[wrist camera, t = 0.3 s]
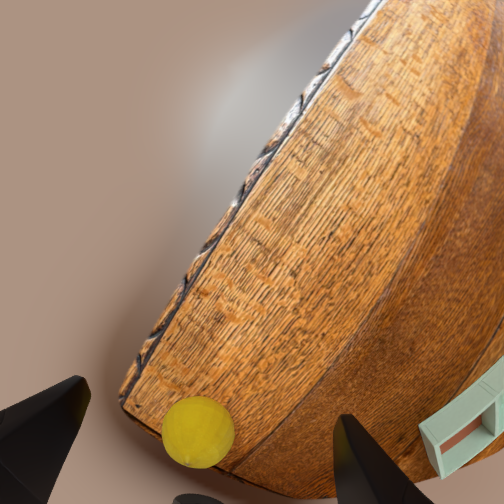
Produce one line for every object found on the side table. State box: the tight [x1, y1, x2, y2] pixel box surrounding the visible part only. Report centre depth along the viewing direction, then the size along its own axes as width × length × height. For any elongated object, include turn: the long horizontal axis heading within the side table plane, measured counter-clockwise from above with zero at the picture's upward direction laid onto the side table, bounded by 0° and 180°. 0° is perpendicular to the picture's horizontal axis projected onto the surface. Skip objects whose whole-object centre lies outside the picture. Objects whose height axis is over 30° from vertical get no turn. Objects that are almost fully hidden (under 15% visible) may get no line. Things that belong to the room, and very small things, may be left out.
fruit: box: [162, 396, 235, 468], centre depth 19 cm, size 6×6×8 cm
